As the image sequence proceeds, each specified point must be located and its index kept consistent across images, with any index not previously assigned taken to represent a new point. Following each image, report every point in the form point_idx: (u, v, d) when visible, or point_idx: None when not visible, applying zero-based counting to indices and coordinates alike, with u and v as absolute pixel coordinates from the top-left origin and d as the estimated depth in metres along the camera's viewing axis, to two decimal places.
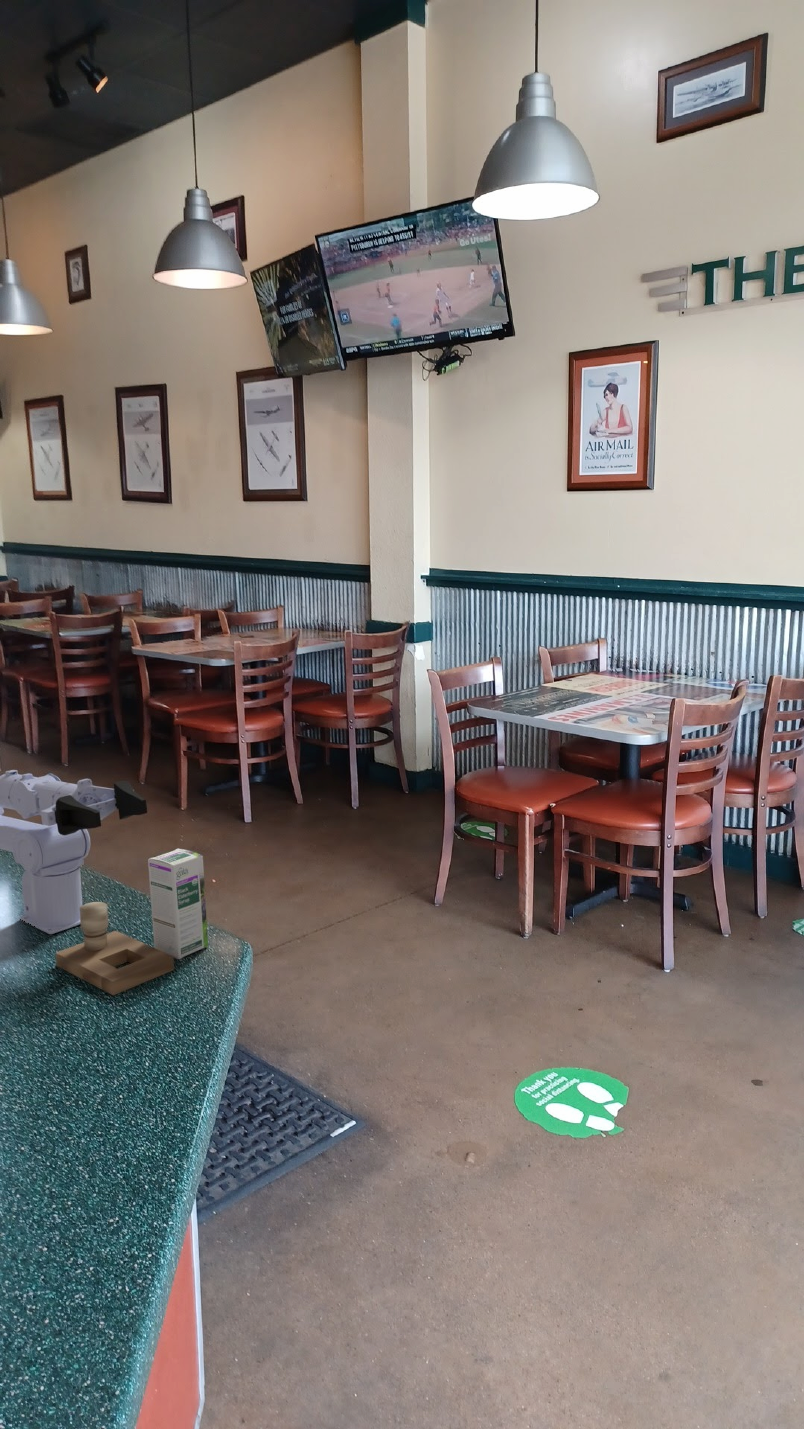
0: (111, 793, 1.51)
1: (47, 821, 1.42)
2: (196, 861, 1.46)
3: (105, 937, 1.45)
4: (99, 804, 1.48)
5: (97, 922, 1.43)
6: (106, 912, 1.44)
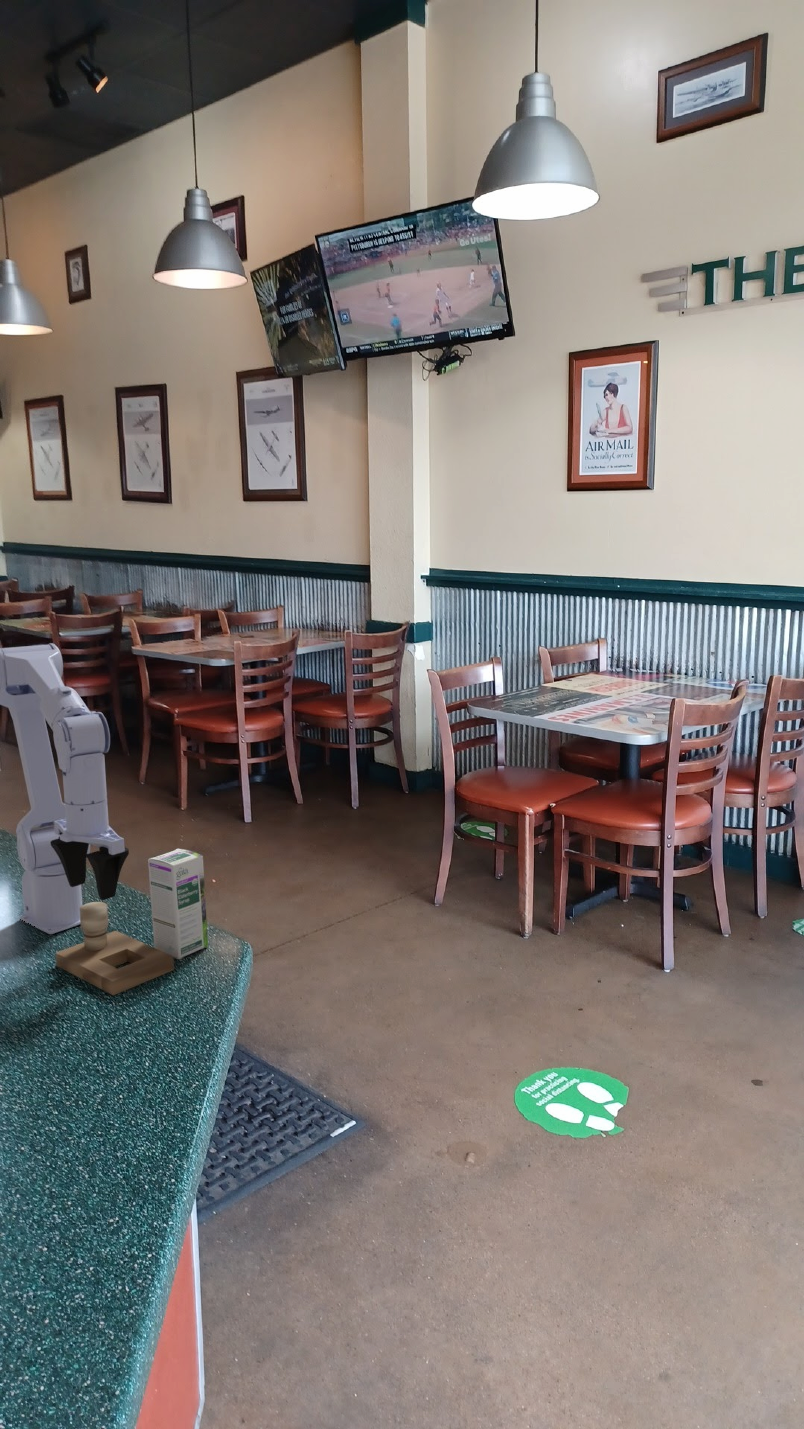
0: None
1: None
2: (196, 861, 1.46)
3: (105, 937, 1.45)
4: (92, 844, 1.41)
5: (97, 922, 1.43)
6: (106, 912, 1.44)
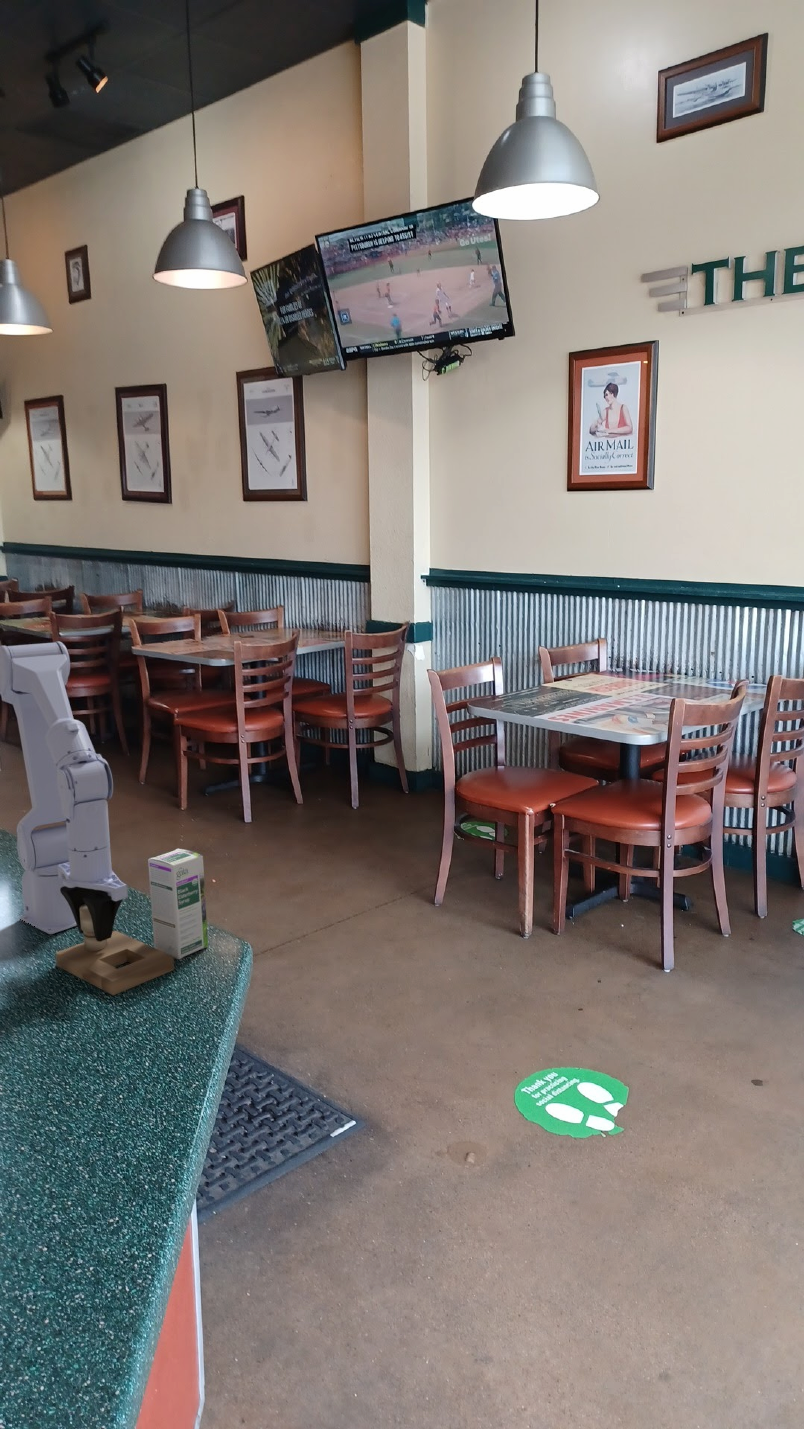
0: None
1: None
2: (196, 861, 1.46)
3: None
4: (95, 889, 1.43)
5: None
6: None
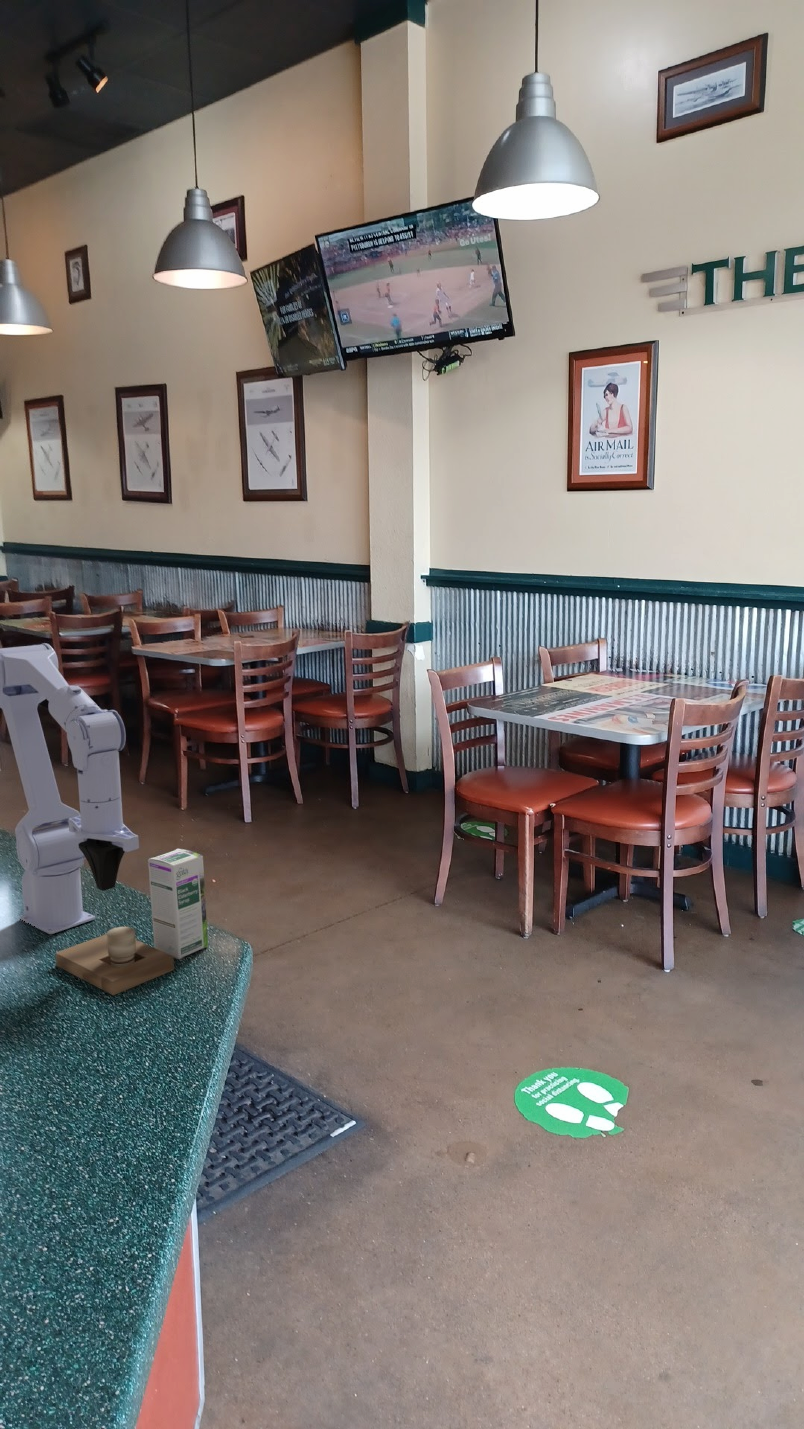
0: None
1: None
2: (196, 861, 1.46)
3: None
4: None
5: (125, 947, 1.39)
6: (134, 937, 1.40)
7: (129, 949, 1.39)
